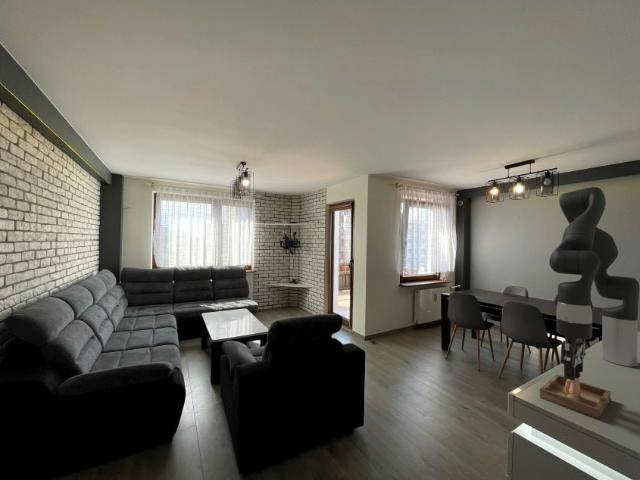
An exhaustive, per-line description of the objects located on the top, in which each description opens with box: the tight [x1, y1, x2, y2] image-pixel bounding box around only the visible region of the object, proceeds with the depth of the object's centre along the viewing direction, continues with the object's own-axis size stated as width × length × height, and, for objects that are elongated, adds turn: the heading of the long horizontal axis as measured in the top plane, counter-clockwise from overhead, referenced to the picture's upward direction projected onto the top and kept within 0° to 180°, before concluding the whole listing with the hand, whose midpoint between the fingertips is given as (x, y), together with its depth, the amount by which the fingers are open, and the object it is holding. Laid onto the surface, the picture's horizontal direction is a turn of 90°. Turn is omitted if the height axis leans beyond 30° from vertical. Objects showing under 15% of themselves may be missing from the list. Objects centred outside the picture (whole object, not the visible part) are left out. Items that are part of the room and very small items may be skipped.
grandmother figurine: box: [565, 357, 583, 401], centre depth 77 cm, size 8×4×13 cm, turn 134°
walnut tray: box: [539, 374, 612, 421], centre depth 78 cm, size 16×12×2 cm
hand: (573, 374), depth 77 cm, fingers open, 8 cm apart
